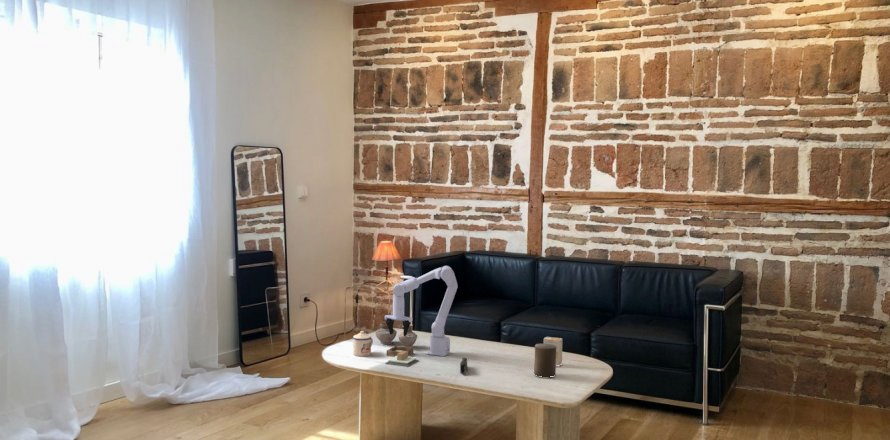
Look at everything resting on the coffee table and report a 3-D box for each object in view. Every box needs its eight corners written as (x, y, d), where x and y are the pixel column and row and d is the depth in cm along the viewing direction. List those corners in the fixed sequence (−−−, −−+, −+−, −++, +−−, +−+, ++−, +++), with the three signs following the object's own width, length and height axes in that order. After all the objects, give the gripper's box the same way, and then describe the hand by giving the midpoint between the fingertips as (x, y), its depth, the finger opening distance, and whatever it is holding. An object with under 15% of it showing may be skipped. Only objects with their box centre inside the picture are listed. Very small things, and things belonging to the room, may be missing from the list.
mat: (418, 360, 360) (418, 359, 360) (408, 366, 349) (408, 365, 349) (396, 357, 365) (396, 356, 365) (385, 363, 354) (385, 362, 354)
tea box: (413, 354, 373) (413, 348, 373) (404, 359, 364) (404, 352, 364) (395, 352, 377) (395, 345, 377) (386, 356, 368) (386, 350, 368)
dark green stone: (461, 356, 351) (459, 364, 336) (467, 356, 350) (466, 364, 336) (461, 367, 351) (459, 375, 336) (467, 367, 351) (466, 375, 336)
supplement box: (562, 365, 356) (563, 338, 355) (559, 367, 352) (560, 340, 350) (545, 362, 359) (546, 336, 358) (542, 365, 355) (543, 338, 354)
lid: (416, 359, 360) (416, 351, 360) (407, 365, 351) (407, 356, 350) (397, 357, 364) (397, 349, 363) (388, 362, 354) (388, 353, 354)
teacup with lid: (362, 357, 364) (362, 334, 363) (349, 354, 370) (349, 331, 369) (378, 352, 374) (379, 329, 373) (365, 349, 379) (365, 327, 378)
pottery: (409, 351, 378) (409, 328, 377) (370, 344, 392) (371, 321, 391) (422, 346, 387) (422, 324, 386) (384, 339, 401) (384, 318, 400)
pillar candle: (550, 379, 332) (551, 346, 331) (530, 375, 337) (531, 343, 336) (558, 374, 340) (560, 342, 339) (539, 371, 345) (540, 339, 344)
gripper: (381, 308, 371) (381, 334, 372) (408, 310, 365) (408, 337, 366) (388, 305, 377) (388, 332, 378) (414, 308, 371) (414, 334, 373)
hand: (398, 334), depth 373 cm, fingers open, 7 cm apart
